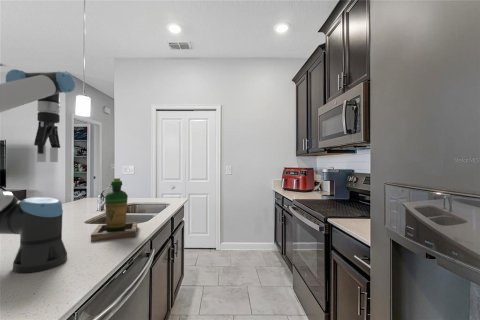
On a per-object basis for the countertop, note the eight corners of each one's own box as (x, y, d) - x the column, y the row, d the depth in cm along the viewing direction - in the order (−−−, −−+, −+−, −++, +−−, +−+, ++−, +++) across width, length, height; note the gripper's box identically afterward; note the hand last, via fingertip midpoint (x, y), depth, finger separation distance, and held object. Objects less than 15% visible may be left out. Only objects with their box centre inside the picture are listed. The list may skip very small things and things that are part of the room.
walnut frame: (135, 237, 119) (135, 231, 119) (90, 241, 112) (90, 234, 112) (137, 227, 137) (137, 221, 137) (98, 230, 130) (98, 224, 130)
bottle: (106, 237, 117) (107, 179, 117) (102, 232, 125) (103, 178, 125) (130, 233, 124) (130, 178, 124) (124, 228, 132) (125, 177, 132)
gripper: (48, 107, 94) (47, 162, 94) (68, 118, 118) (67, 162, 117) (24, 106, 92) (23, 161, 91) (49, 117, 115) (48, 161, 115)
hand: (48, 162), depth 104 cm, fingers open, 13 cm apart
